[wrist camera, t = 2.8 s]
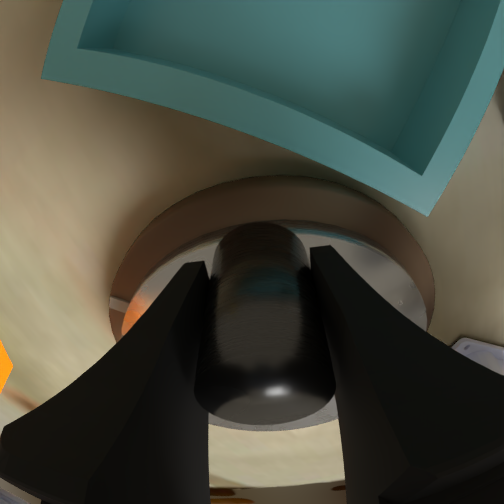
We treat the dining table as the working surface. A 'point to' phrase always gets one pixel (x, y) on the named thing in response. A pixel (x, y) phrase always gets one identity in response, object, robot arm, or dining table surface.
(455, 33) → the tray
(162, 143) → the dining table surface
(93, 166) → the dining table surface
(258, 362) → the crank
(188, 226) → the crank base
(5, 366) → the orange juice
